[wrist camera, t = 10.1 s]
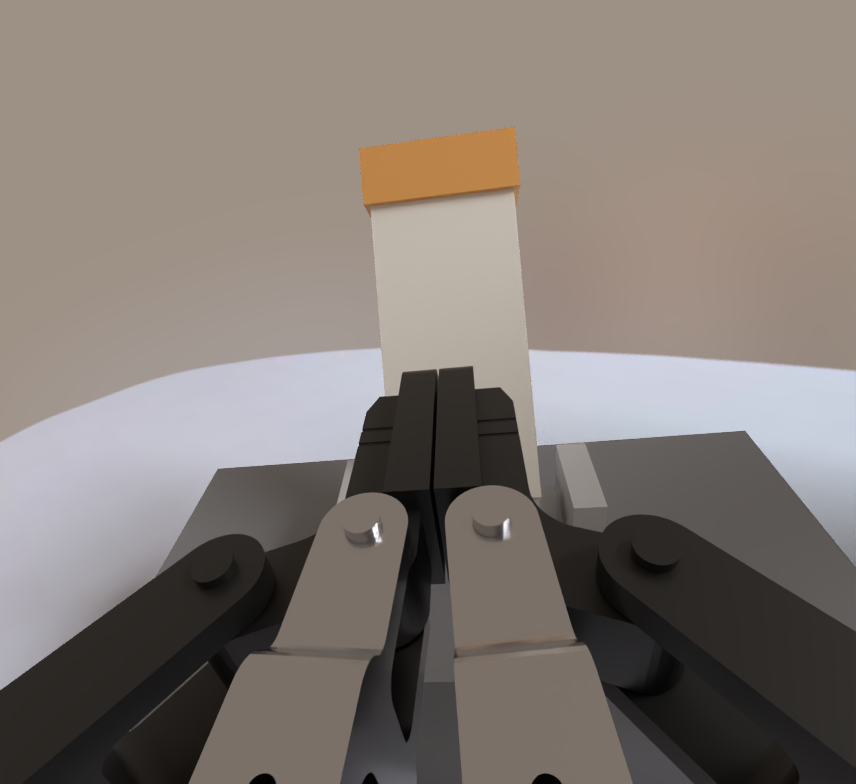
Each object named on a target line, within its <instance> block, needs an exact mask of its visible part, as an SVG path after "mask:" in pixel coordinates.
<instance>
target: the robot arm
mask: <svg viewBox="0 0 856 784" xmlns="http://www.w3.org/2000/svg"><path fill="white" fill-rule="evenodd" d="M445 562H446V568H447V575H448V581H449V583H450V593H451V605H452V618H453V630H454V643H455V653H454V677H455V691H456V704H457V717H458V730H459V743H460V757H461V770H462V783H463V784H633V783H632V779H631V776H630V773H629V770H628V767H627V764H626V760H625V757H624V754H623V751H622V748H621V745H620V741H619V738H618V735H617V732H616V729H615V726H614V723H613V719H612V716H611V713H610V710H609V707H608V704H607V700H606V697H607V698H608V699H609V700H610V701H611V702H612V703H613V704H614V705H615V706H616V707H617V708H618V709H619V710H620V711H621V712H622V713H623V714H624V715H625V716H626V717H627V718H628V719H629V720H630V721H631V722H632V723H633V724H634V725H635V726H636V727H637V728H638V729H639V730H640V731H641V732H642V733H643V734H644V735H645V736H646V737H647V738H648V739H649V740H650V741H651V742H652V743H653V744H654V745H655V746H656V747H657V748H658V749H659V750H660V751H661V752H662V753H663V754H664V755H665V756H667V757H668V758H669V759H670V760H671V761H672V762H673V763H674V764H675V765H676V766H677V767H678V768H679V769H680V770H681V771H682V772H683V773H684V774H685V775H686V776H687V777H688V778H689V779H690V780H691V781H692V782H693V783H694V784H856V631H854V630H853V629H851V628H849V627H848V626H846V625H844V624H843V623H841V622H839V621H838V620H836V619H835V618H833V617H831V616H830V615H828V614H826V613H825V612H823V611H821V610H820V609H818V608H817V607H815V606H813V605H812V604H810V603H808V602H807V601H805V600H803V599H802V598H800V597H799V596H797V595H795V594H794V593H792V592H790V591H789V590H787V589H785V588H784V587H782V586H781V585H779V584H777V583H776V582H774V581H772V580H771V579H769V578H767V577H766V576H764V575H763V574H761V573H759V572H758V571H756V570H754V569H753V568H751V567H750V566H748V565H746V564H745V563H743V562H741V561H740V560H738V559H736V558H735V557H733V556H732V555H730V554H728V553H727V552H725V551H723V550H722V549H720V548H718V547H717V546H715V545H714V544H712V543H710V542H709V541H707V540H705V539H704V538H702V537H700V536H699V535H697V534H696V533H694V532H692V531H691V530H689V529H687V528H686V527H684V526H682V525H680V524H678V523H677V522H674V521H672V520H669V519H666V518H663V517H659V516H654V515H644V514H637V515H629V516H625V517H622V518H619V519H617V520H615V521H613V522H612V523H610V524H609V525H608V526H607V527H606V528H605V529H604V531H603V532H598V531H593V530H589V529H584V528H579V527H575V526H571V525H567V524H565V523H562V522H560V521H558V520H556V519H554V518H552V517H550V516H549V515H547V514H546V513H545V512H543V511H542V510H541V509H540V508H539V507H538V506H537V504H536V503H535V502H534V500H533V498H532V496H531V494H530V490H529V485H528V480H527V474H526V469H525V463H524V458H523V453H522V447H521V442H520V436H519V431H518V425H517V421H516V414H515V409H514V404H513V400H512V399H511V398H510V397H509V396H508V395H507V394H506V393H505V392H504V391H503V390H502V389H501V388H500V387H495V388H483V389H475V383H474V371H473V366H465V367H453V368H442V369H439V378H438V372H437V369H431V370H419V371H408V372H403V373H402V376H401V382H400V388H399V394H398V395H397V396H385V397H379V398H378V400H377V401H376V402H375V403H374V404H373V405H372V407H371V408H370V409H369V410H368V411H367V413H366V417H365V421H364V425H363V432H362V433H361V437H360V441H359V447H358V449H357V453H356V457H355V461H354V465H353V469H352V473H351V477H350V481H349V485H348V489H347V493H346V497H345V500H343V501H341V502H339V503H338V504H336V505H335V506H334V507H333V508H331V510H330V511H329V512H328V513H327V514H326V515H325V517H324V518H323V519H322V521H321V523H320V526H319V528H318V531H317V533H316V534H314V535H312V536H310V537H308V538H306V539H303V540H301V541H298V542H295V543H291V544H288V545H285V546H282V547H279V548H276V549H273V550H270V551H267V552H265V551H264V549H263V547H262V545H261V544H260V543H259V541H258V540H256V539H255V538H253V537H251V536H248V535H244V534H229V535H224V536H220V537H217V538H214V539H212V540H209V541H207V542H205V543H203V544H201V545H200V546H198V547H197V548H195V549H194V550H192V551H191V552H190V553H188V554H187V555H186V556H184V557H183V558H181V559H180V560H179V561H177V562H176V563H175V564H173V565H172V566H170V567H169V568H168V569H166V570H165V571H164V572H162V573H161V574H159V575H158V576H157V577H155V578H154V579H153V580H151V581H150V582H149V583H147V584H146V585H144V586H143V587H142V588H140V589H139V590H138V591H136V592H135V593H133V594H132V595H131V596H129V597H128V598H127V599H125V600H124V601H122V602H121V603H120V604H118V605H117V606H116V607H114V608H113V609H111V610H110V611H109V612H107V613H106V614H105V615H103V616H102V617H100V618H99V619H98V620H96V621H95V622H94V623H92V624H91V625H89V626H88V627H87V628H85V629H84V630H83V631H81V632H80V633H79V634H77V635H76V636H74V637H73V638H72V639H70V640H69V641H68V642H66V643H65V644H63V645H62V646H61V647H59V648H58V649H57V650H55V651H54V652H52V653H51V654H50V655H48V656H47V657H46V658H44V659H43V660H41V661H40V662H39V663H37V664H36V665H35V666H33V667H32V668H30V669H29V670H28V671H26V672H25V673H24V674H22V675H21V676H19V677H18V678H17V679H15V680H14V681H13V682H11V683H10V684H9V685H7V686H6V687H4V688H3V689H2V690H0V784H417V775H416V746H417V736H418V728H419V719H420V710H421V702H422V693H423V685H424V676H425V668H426V659H427V651H428V642H429V633H430V620H429V613H430V597H431V584H445ZM207 661H208V664H207V665H205V666H204V667H203V668H202V669H201V670H200V671H199V672H198V673H197V674H195V675H194V676H193V677H192V678H191V679H190V680H189V681H188V682H186V683H185V684H184V685H183V686H182V687H181V688H180V689H179V690H178V691H176V692H175V693H174V694H173V695H172V696H171V697H170V698H169V699H167V700H166V701H165V702H164V703H163V704H162V705H161V706H160V707H159V708H157V709H156V710H155V711H154V712H153V713H152V714H151V715H150V716H148V717H147V718H146V719H145V720H144V721H143V722H142V723H141V724H139V725H138V726H137V727H136V728H134V729H133V730H131V729H132V728H133V727H134V726H135V725H136V724H138V723H139V722H140V721H141V720H142V719H143V718H144V717H145V716H147V715H148V714H149V713H150V712H151V711H152V710H153V709H154V708H156V707H157V706H158V705H159V704H160V703H161V702H162V701H163V700H164V699H166V698H167V697H168V696H169V695H170V694H171V693H172V692H173V691H175V690H176V689H177V688H178V687H179V686H180V685H181V684H182V683H184V682H185V681H186V680H187V679H188V678H189V677H190V676H191V675H193V674H194V673H195V672H196V671H197V670H198V669H199V668H200V667H202V666H203V665H204V664H205V663H206V662H207ZM605 696H606V697H605ZM130 730H131V731H130ZM129 731H130V732H129ZM127 732H128V733H127Z"/></svg>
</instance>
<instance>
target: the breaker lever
mask: <svg viewBox="0 0 856 784" xmlns="http://www.w3.org/2000/svg"><path fill="white" fill-rule="evenodd" d="M516 144H517V143H516V132H515V127H512V128H504V129H497V130H490V131H482V132H476V133H468V134H461V135H454V136H446V137H439V138H432V139H424V140H417V141H410V142H402V143H395V144H388V145H381V146H374V147H366V148H360V149H359V152H360V166H361V178H362V191H363V204H364V206H365V208H366V210H367V211H368V213H369V215H370V217H371V221H372V234H373V245H374V259H375V272H376V285H377V298H378V311H379V323H380V337H381V349H382V362H383V375H384V388H385V396H397V395H398V394H399V388H400V382H401V376H402V373H403V372H408V371H419V370H431V369H437V372H438V378H439V369H442V368H453V367H465V366H473V371H474V383H475V389H483V388H495V387H500V388H501V389H502V390H503V391H504V392H505V393H506V394H507V395H508V396H509V397H510V398H511V399H512V400H513V404H514V409H515V414H516V421H517V425H518V431H519V436H520V442H521V447H522V453H523V458H524V463H525V469H526V474H527V480H528V485H529V490H530V494H531V496H532V498H533V500H534V502H535V503H536V504H537V506H538V507H539V508H540V509H541V510H542V511H543V512H545V513H546V514H547V515H549V516H550V517H552V518H554V519H556V520H558V510H557V502H556V496H555V491H554V488H553V486H544V487H540V475H539V464H538V453H537V442H536V431H535V419H534V408H533V397H532V386H531V375H530V364H529V352H528V342H527V330H526V319H525V308H524V296H523V286H522V274H521V263H520V252H519V241H518V230H517V218H516V205H517V199H518V194H519V188H520V177H519V165H518V156H517V155H518V154H517V145H516Z"/></svg>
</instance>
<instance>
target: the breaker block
mask: <svg viewBox="0 0 856 784" xmlns="http://www.w3.org/2000/svg"><path fill="white" fill-rule="evenodd" d="M537 453H538V464H539V475H540V487H544V486H553V488H554V491H555V496H556V502H557V510H558V521H560V522H562V523H565V524H567V525H571V526H575V527H579V528H584V529H589V530H593V531H598V532H603V531H604V529H605V528H606V527H607V526H608V525H609V524H610V523H612V522H613V521H615V520H617V519H619V518H622V517H625V516H629V515H637V514H644V515H654V516H659V517H663V518H666V519H669V520H672V521H674V522H677V523H678V524H680V525H682V526H684V527H686V528H687V529H689V530H691V531H692V532H694V533H696V534H697V535H699V536H700V537H702V538H704V539H705V540H707V541H709V542H710V543H712V544H714V545H715V546H717V547H718V548H720V549H722V550H723V551H725V552H727V553H728V554H730V555H732V556H733V557H735V558H736V559H738V560H740V561H741V562H743V563H745V564H746V565H748V566H750V567H751V568H753V569H754V570H756V571H758V572H759V573H761V574H763V575H764V576H766V577H767V578H769V579H771V580H772V581H774V582H776V583H777V584H779V585H781V586H782V587H784V588H785V589H787V590H789V591H790V592H792V593H794V594H795V595H797V596H799V597H800V598H802V599H803V600H805V601H807V602H808V603H810V604H812V605H813V606H815V607H817V608H818V609H820V610H821V611H823V612H825V613H826V614H828V615H830V616H831V617H833V618H835V619H836V620H838V621H839V622H841V623H843V624H844V625H846V626H848V627H849V628H851V629H853V630H854V631H856V567H855V566H854V565H853V564H852V562H851V561H850V560H849V559H848V557H847V556H846V555H845V554H844V553H843V551H842V550H841V549H840V548H839V546H838V545H837V544H836V543H835V541H834V540H833V539H832V538H831V536H830V535H829V534H828V533H827V532H826V530H825V529H824V528H823V527H822V525H821V524H820V523H819V522H818V520H817V519H816V518H815V517H814V515H813V514H812V513H811V512H810V511H809V509H808V508H807V507H806V506H805V504H804V503H803V502H802V501H801V499H800V498H799V497H798V496H797V495H796V493H795V492H794V491H793V490H792V488H791V487H790V486H789V485H788V483H787V482H786V481H785V480H784V478H783V477H782V476H781V475H780V474H779V472H778V471H777V470H776V469H775V467H774V466H773V465H772V464H771V462H770V461H769V460H768V459H767V457H766V456H765V455H764V454H763V453H762V451H761V450H760V449H759V448H758V446H757V445H756V444H755V443H754V441H753V440H752V439H751V438H750V436H749V435H748V434H747V433H746V432H745V431H736V432H722V433H708V434H694V435H680V436H667V437H653V438H639V439H625V440H611V441H597V442H584V443H570V444H556V445H542V446H537ZM354 461H355V459H348V460H335V461H321V462H307V463H293V464H279V465H265V466H251V467H238V468H224V469H218V470H217V471H216V473H215V475H214V477H213V478H212V480H211V482H210V484H209V485H208V487H207V489H206V491H205V492H204V494H203V496H202V498H201V499H200V501H199V503H198V505H197V506H196V508H195V510H194V512H193V513H192V515H191V517H190V519H189V520H188V522H187V524H186V526H185V527H184V529H183V531H182V533H181V534H180V536H179V538H178V539H177V541H176V543H175V545H174V546H173V548H172V550H171V552H170V553H169V555H168V557H167V559H166V560H165V562H164V564H163V566H162V567H161V569H160V571H159V573H158V574H157V576H158V575H159V574H161V573H162V572H164V571H165V570H166V569H168V568H169V567H170V566H172V565H173V564H175V563H176V562H177V561H179V560H180V559H181V558H183V557H184V556H186V555H187V554H188V553H190V552H191V551H192V550H194V549H195V548H197V547H198V546H200V545H201V544H203V543H205V542H207V541H209V540H212V539H214V538H217V537H220V536H224V535H229V534H244V535H248V536H251V537H253V538H255V539H256V540H258V541H259V543H260V544H261V545H262V547H263V549H264V551H265V552H267V551H270V550H273V549H276V548H279V547H282V546H285V545H288V544H291V543H295V542H298V541H301V540H303V539H306V538H308V537H310V536H312V535H314V534H316V533H317V531H318V528H319V526H320V523H321V521H322V519H323V518H324V517H325V515H326V514H327V513H328V512H329V511H330V510H331V508H333V507H334V506H335V505H336V504H338V503H339V502H341V501H343V500H345V497H346V493H347V489H348V485H349V481H350V477H351V473H352V469H353V465H354ZM157 576H156V577H157ZM429 620H430V633H429V642H428V651H427V659H426V668H425V676H424V685H423V693H422V702H421V710H420V719H419V728H418V736H417V746H416V775H417V784H463V783H462V770H461V757H460V743H459V730H458V717H457V704H456V691H455V677H454V653H455V643H454V630H453V618H452V605H451V593H450V583H449V581H448V575H447V568H446V562H445V584H431V597H430V613H429ZM207 664H208V661H207V662H206V663H205V664H204V665H203V666H202V667H200V668H199V669H198V670H197V671H196V672H195V673H194V674H193V675H191V676H190V677H189V678H188V679H187V680H186V681H185V682H184V683H182V684H181V685H180V686H179V687H178V688H177V689H176V690H175V691H173V692H172V693H171V694H170V695H169V696H168V697H167V698H166V699H164V700H163V701H162V702H161V703H160V704H159V705H158V706H157V707H156V708H154V709H153V710H152V711H151V712H150V713H149V714H148V715H147V716H145V717H144V718H143V719H142V720H141V721H140V722H139V723H138V724H136V725H135V726H134V727H133V728H132V729H131V730H133V729H134V728H136V727H137V726H138V725H139V724H141V723H142V722H143V721H144V720H145V719H146V718H147V717H148V716H150V715H151V714H152V713H153V712H154V711H155V710H156V709H157V708H159V707H160V706H161V705H162V704H163V703H164V702H165V701H166V700H167V699H169V698H170V697H171V696H172V695H173V694H174V693H175V692H176V691H178V690H179V689H180V688H181V687H182V686H183V685H184V684H185V683H186V682H188V681H189V680H190V679H191V678H192V677H193V676H194V675H195V674H197V673H198V672H199V671H200V670H201V669H202V668H203V667H204V666H205V665H207ZM605 697H606V696H605ZM606 700H607V704H608V707H609V710H610V713H611V716H612V719H613V723H614V726H615V729H616V732H617V735H618V738H619V741H620V745H621V748H622V751H623V754H624V757H625V760H626V764H627V767H628V770H629V773H630V776H631V779H632V783H633V784H694V783H693V782H692V781H691V780H690V779H689V778H688V777H687V776H686V775H685V774H684V773H683V772H682V771H681V770H680V769H679V768H678V767H677V766H676V765H675V764H674V763H673V762H672V761H671V760H670V759H669V758H668V757H667V756H665V755H664V754H663V753H662V752H661V751H660V750H659V749H658V748H657V747H656V746H655V745H654V744H653V743H652V742H651V741H650V740H649V739H648V738H647V737H646V736H645V735H644V734H643V733H642V732H641V731H640V730H639V729H638V728H637V727H636V726H635V725H634V724H633V723H632V722H631V721H630V720H629V719H628V718H627V717H626V716H625V715H624V714H623V713H622V712H621V711H620V710H619V709H618V708H617V707H616V706H615V705H614V704H613V703H612V702H611V701H610V700H609V699H608V698H607V697H606Z"/></svg>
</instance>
